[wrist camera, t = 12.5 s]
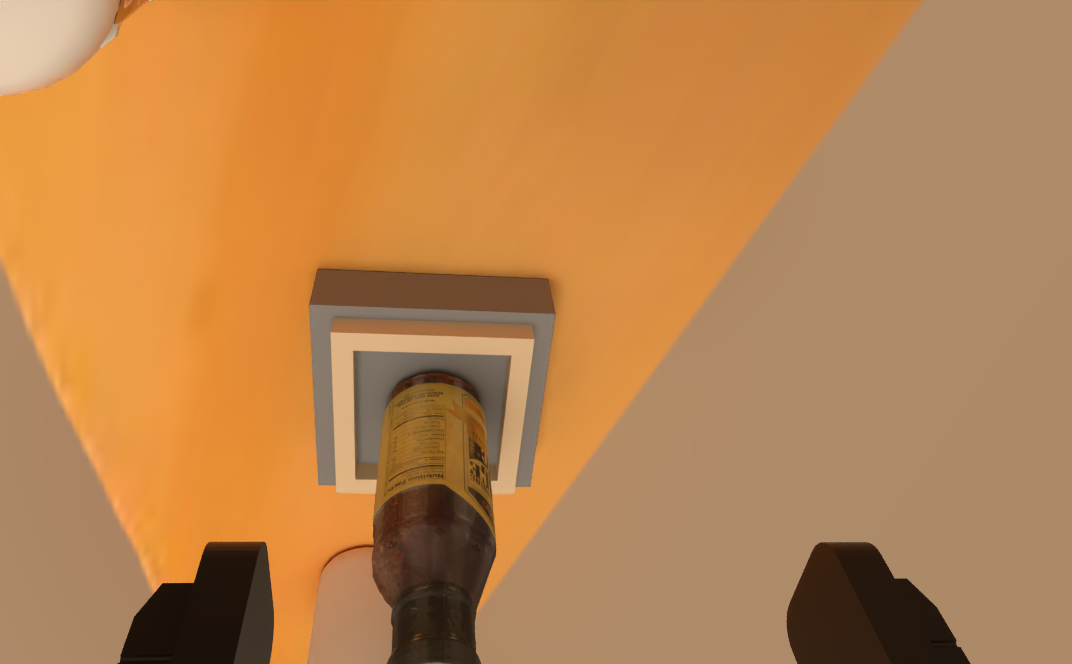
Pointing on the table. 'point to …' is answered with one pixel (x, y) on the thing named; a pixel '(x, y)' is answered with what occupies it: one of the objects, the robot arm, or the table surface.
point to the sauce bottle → (433, 519)
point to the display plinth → (426, 362)
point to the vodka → (54, 38)
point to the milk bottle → (350, 614)
